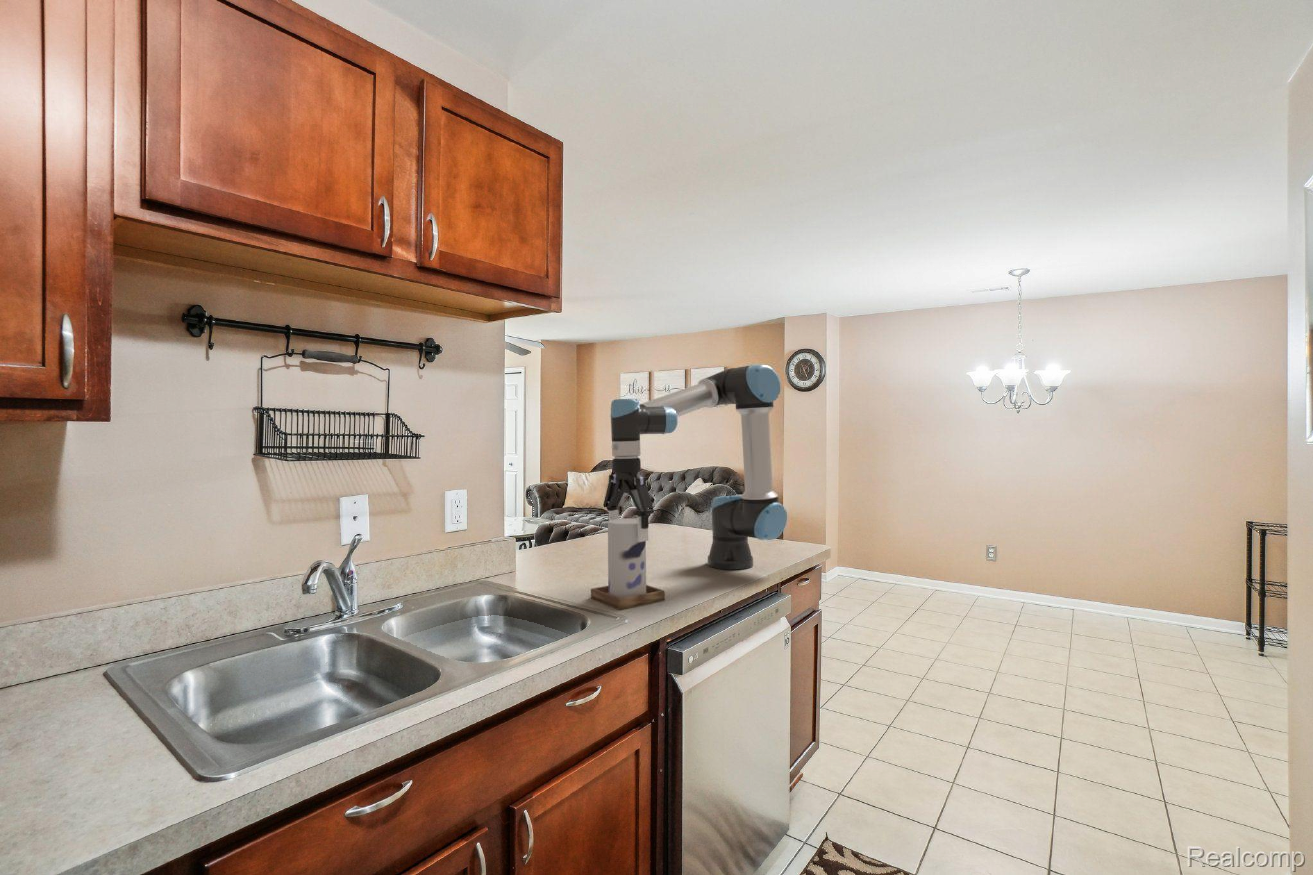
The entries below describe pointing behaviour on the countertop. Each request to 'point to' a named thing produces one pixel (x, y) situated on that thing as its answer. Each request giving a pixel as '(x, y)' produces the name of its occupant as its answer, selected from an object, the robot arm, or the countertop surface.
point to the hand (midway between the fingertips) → (628, 537)
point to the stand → (629, 602)
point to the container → (625, 559)
